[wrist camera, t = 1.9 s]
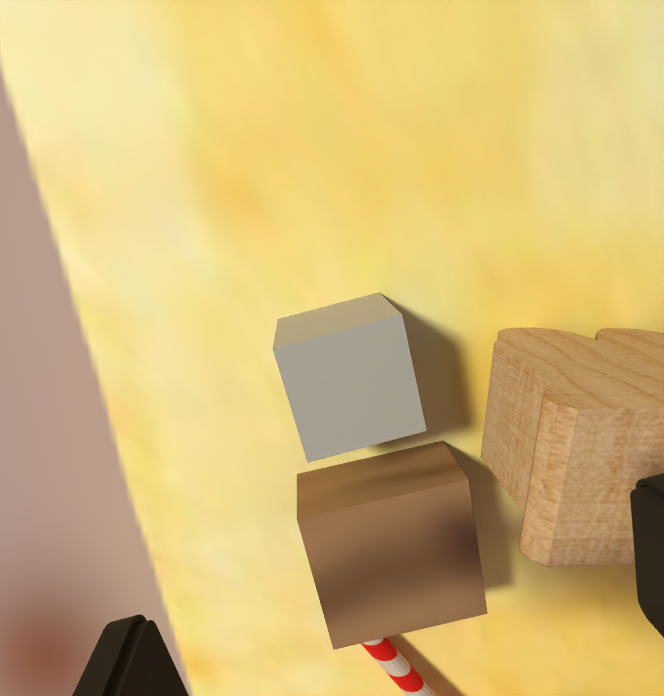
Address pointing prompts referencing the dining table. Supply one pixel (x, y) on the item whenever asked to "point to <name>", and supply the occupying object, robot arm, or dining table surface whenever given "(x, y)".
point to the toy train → (575, 437)
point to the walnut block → (391, 543)
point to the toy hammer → (398, 667)
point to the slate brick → (348, 376)
